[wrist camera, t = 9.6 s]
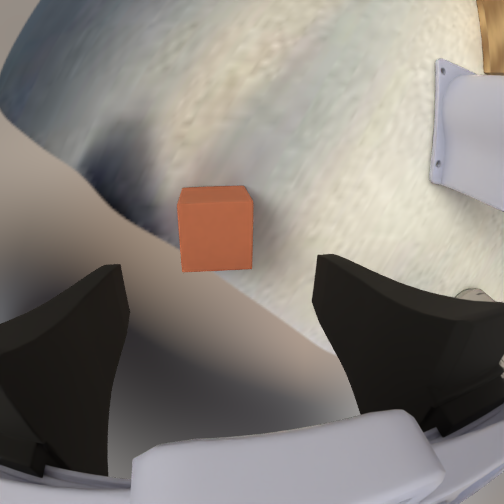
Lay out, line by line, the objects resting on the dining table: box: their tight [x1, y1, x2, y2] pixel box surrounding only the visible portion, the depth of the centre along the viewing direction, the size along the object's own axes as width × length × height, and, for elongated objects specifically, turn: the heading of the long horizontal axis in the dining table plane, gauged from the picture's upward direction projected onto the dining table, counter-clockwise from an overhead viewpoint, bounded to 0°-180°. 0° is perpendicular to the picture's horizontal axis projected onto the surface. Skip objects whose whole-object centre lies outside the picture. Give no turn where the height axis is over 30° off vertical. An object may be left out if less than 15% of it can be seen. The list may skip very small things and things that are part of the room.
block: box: [177, 186, 253, 272], centre depth 17 cm, size 4×4×4 cm
